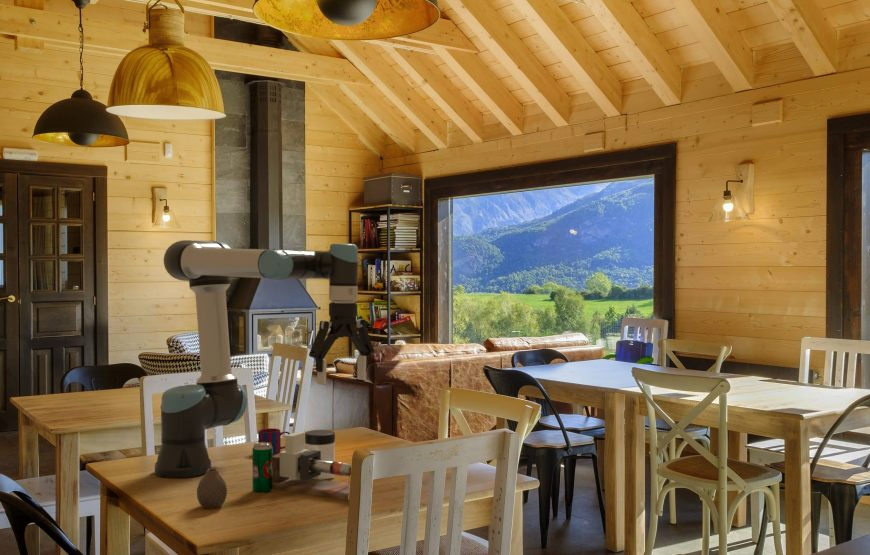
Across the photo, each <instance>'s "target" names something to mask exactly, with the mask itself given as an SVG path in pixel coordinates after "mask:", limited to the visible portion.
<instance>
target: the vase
mask: <svg viewBox="0 0 870 555" xmlns="http://www.w3.org/2000/svg"><path fill="white" fill-rule="evenodd" d="M227 489H228V488H227V484H226V481H225V479H224V478H223V476H221V474H220V473H219V471H218V470H217V469H216V468H211V469H209V470H207V471H206V473H205V474H203V476H202V478H201V479H200V481H199V482H198V485H197V488H196V499H197V501H198V503H199V506H201V507H202V508H203V509H206V510H213V509H214V510H215V509H219V508H221V507H222V505H224V503H225V501H226V500H227V494H228V490H227Z"/></svg>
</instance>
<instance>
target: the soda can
mask: <svg viewBox="0 0 870 555" xmlns="http://www.w3.org/2000/svg"><path fill="white" fill-rule="evenodd" d="M251 452H252V456H251V457H252V460H251V461H252V463H251V464H252V466H251V468H252V480H251V481H252V484H251V485H252V491H253V492H254V493H257V494H265V493H266V494H267V493H269V492H271V491H272V490H274V489H273V456H274V454H273V447H272V446H271V443H268V442H260V443H258V442H255V443H254V444H253V447H252V451H251Z"/></svg>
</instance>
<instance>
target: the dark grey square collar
mask: <svg viewBox="0 0 870 555" xmlns="http://www.w3.org/2000/svg"><path fill="white" fill-rule="evenodd" d="M310 458H312V459H315V460H321V451H317V450H314V451H311V452H308V453H305V454H302V455H300V479H303V480H308V479H311V478H313V477H316V476H319V475H321V472H315V471H310V472H309V459H310Z"/></svg>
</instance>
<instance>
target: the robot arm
mask: <svg viewBox="0 0 870 555" xmlns="http://www.w3.org/2000/svg"><path fill="white" fill-rule="evenodd" d="M358 249H359V248H358V246H357V245H356V244H353V243H331V244H330V246H329V249H328V250H309V249H307V250H305V249H304V250H297V249H296V250H293V249H292V250H291V249H290V250H288V249H277V248H275V249H274V248H273V249H259V248H231V247H230V246H229V245H228V244H227V243H225V242H222V241H215V240H189V239H188V240H185V239H183V240H179V241H176V242H174V243H172V244H170V245H169V246H168V247H167V249H166V250H165V252H164V255H163V265H164V268H165V271H166V272H167V273H168V275H169V276H171V277H172V278H173V279H176V280H177V281H183V282H185V281H186V282H188V284H189V286H188V287H189V289H190V291H192V292H193V293H194V294H195V295H194V296H195V306H196V307H195V309H196V320H197V322H196V323H197V331H198V332H197V333H198V345H199V348H198V349H199V362H200V376H199V378H198V379H197V380H196V382H195V383H196V384H184V385H177V386H173V387H170V388H168V389H166V390H165V391H164V392H162V395H161V403H160V422H161V424H160V425H161V426H160V428H161V429H160V431H161V432H160V433H161V434H160V435H161V436H160V437H161V438H160V439H161V442H160V444H161V446H160V449H159V451H158V456H157V459H156V462H155V463H154V475H156V476H158V477H161V478H168V479H169V478H173V479H175V478H176V479H177V478H178V479H182V478H191V477H198V476H202V475H203V476H204V475H205V473H206V471H207V470H209V469H212V460H211V459H210V457H209V453H208V449H207V448H208V447H207V445H206V436H205V435H206V430H210V429H212V428H213V429H214V428H216V427H221V426H222V427H223V426H228V425H230V424H233V423H236V422H238V421H239V420H240V419H241V418H242V416H244V414H245V413H246V410H247V406H248V396H247V393H246V390H244V388H243V386H242V385H241V384H239V383H238V377H237V376H236V375H235V374H233V372H232V363H231V349H230V348H231V347H230V336H229V334H230V333H229V323H228V322H229V320H228V308H227V296H226V295H227V294H226V293H227V292H226V291H227V290H228V289H229V287H230V286H231V279H232V278H233V277H234V278H255V279H256V278H257V279H267V280H268V279H269V280H275V281H279V280H281V281H282V280H293V279H294V280H301V279H302V280H303V279H304V280H306V279H307V280H309V279H311V280H312V279H315V280H317V279H318V280H320V279H321V280H322V279H323V280H328V283H329V287H328V300H329V301H330V302H329V304H328V316H329V321H327V320H320V322H319V327H318V331H317V333H316V336H315V338H314V340H313V343H312V345H311V348H310V351H309V353H308V356H309V357H310V358H313V359H314V360H315V372H316V374H317V380H316V383H317V385H322V386H326V385H327V359H326V358H325V357H326V355H327V354H328V353H329V351H330V350H331V348H332V347H333V345H334V343H335V341H337V340H338V339H339V338H349V339H350V341H351V343H352V344H353V345H354V347H355V348H356V350H357V351H358V352H359V354H358V355H357V374H356V375H357V377H356V378H357V380H360V381H361V380H362V381H366V380H367V368H368V366H369V356H371V355H372V353H374V352H375V348H374V346H373V343H372V340H371V338H370V335H369V332H368V329H367V325H366V319H362V318H357V316H358V303H357V301H358V292H359V291H358V288H359V287H358V275H359V273H358V271H359V261H360V260H359V250H358Z"/></svg>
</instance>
